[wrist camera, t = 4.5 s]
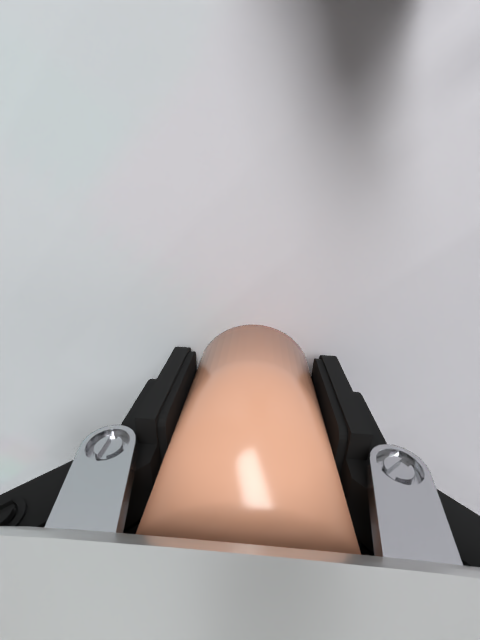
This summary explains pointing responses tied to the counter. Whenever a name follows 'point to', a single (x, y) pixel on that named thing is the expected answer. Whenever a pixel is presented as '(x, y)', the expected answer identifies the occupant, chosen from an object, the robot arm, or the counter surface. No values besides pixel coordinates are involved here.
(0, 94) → the counter surface
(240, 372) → the peach domed cylinder
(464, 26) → the counter surface
